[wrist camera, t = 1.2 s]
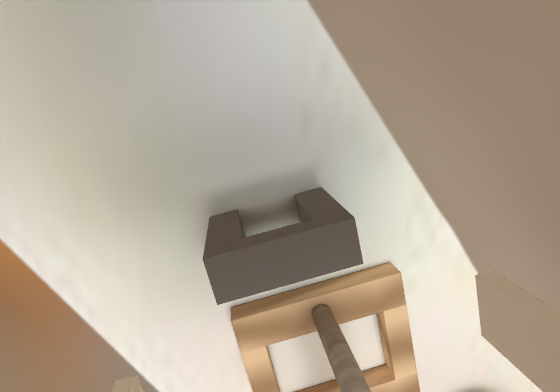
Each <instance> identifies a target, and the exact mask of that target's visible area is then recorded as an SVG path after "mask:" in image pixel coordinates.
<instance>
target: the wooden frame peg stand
mask: <svg viewBox="0 0 560 392" xmlns="http://www.w3.org/2000/svg"><path fill="white" fill-rule="evenodd" d="M376 313H377V318H378V323H379V329H380V334H381V339H382V345H383V350H384V355H385V361H386V364H385V365H382V366H379V367H375V368H372V369H369V370H366V371H362V372H361V370H360V368H359V366H358V364H357V362H356V360H355V358H354V356H353V354H352V352H351V350H350V348H349V346H348V344H347V341H346V339H345V337H344V335H343V333H342V331H341V329H340V327H339V325H338V324H342V323H345V322H349V321H352V320H355V319H359V318H362V317H366V316H369V315H372V314H376ZM231 323H232V326H233V329H234V332H235V335H236V339H237V342H238V345H239V348H240V351H241V355H242V358H243V361H244V364H245V367H246V371H247V374H248V377H249V380H250V383H251V387H252V390H253V392H280V388H279V385H278V381H277V378H276V374H275V371H274V367H273V364H272V361H271V357H270V354H269V350H268V347H267V345H270V344H274V343H277V342H280V341H284V340H287V339H291V338H294V337H297V336H301V335H304V334H308V333H311V332H315V331H318V333H319V336H320V339H321V341H322V344H323V346H324V349H325V351H326V354H327V357H328V359H329V362H330V364H331V367H332V369H333V372H334V375H335V377H336V380H333V381H329V382H326V383H323V384H319V385H316V386H313V387H310V388H306V389H303V390H300V391H296V392H420V388H419V382H418V376H417V369H416V363H415V357H414V351H413V344H412V338H411V332H410V326H409V320H408V313H407V307H406V301H405V295H404V288H403V282H402V276H401V272H400V271H399V270H398V269H397V268H396V267H395V266H394V265H393V264H392V263H391V262H390V263H386V264H383V265H379V266H375V267H372V268H368V269H365V270H361V271H358V272H354V273H351V274H347V275H344V276H340V277H337V278H333V279H330V280H326V281H323V282H319V283H316V284H312V285H309V286H305V287H302V288H298V289H294V290H291V291H287V292H284V293H280V294H277V295H273V296H270V297H266V298H263V299H259V300H256V301H252V302H249V303H245V304H242V305H238V306H235V307H231Z"/></svg>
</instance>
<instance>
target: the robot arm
mask: <svg viewBox="0 0 560 392" xmlns="http://www.w3.org/2000/svg"><path fill="white" fill-rule="evenodd" d="M475 277H476V286H477V296H478V306H479V315H480V325H481V335H482V336H483V337H484V338H485V339H486V340H487V341H488V342H489V343H490V344H491V345H493V346H494V347H495V348H496V349H497V350H498V351H499V352H500V353H501V354H502V355H503V356H505V357H506V358H507V359H508V360H509V361H510V362H511V363H512V364H513V365H514V366H515V367H517V368H518V369H519V370H520V371H521V372H522V373H523V374H524V375H525V376H526V377H527V378H529V379H530V380H531V381H532V382H533V383H534V384H535V385H536V386H537V387H538V388H539V389H541V390H542V391H543V392H560V311H558V310H557V309H555V308H554V307H552V306H550V305H549V304H547V303H546V302H544V301H542V300H541V299H539V298H538V297H536V296H534V295H533V294H531V293H530V292H528V291H526V290H525V289H523V288H522V287H520V286H518V285H517V284H515V283H514V282H512V281H511V280H509V279H507V278H505V277H504V276H503V275H501V274H499V273H498V272H496V271H495V270H492V271H489V272H485V273H482V274H478V275H475ZM111 392H144V391H143V389H142V386H141V384H140V382H139V379H138V377H137V375H134V376H131V377H127V378H124V379H120V380H117V381H116V382H115V383H114V386H113V388H112V391H111Z"/></svg>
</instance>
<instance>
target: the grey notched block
mask: <svg viewBox="0 0 560 392" xmlns="http://www.w3.org/2000/svg"><path fill="white" fill-rule="evenodd" d="M295 198H296V203H297V207H298V211H299V216H300V220H301V222H300V223H297V224H293V225H289V226H286V227H282V228H278V229H275V230H271V231H267V232H264V233H260V234H256V235H252V236H249V237H245V235H244V231H243V227H242V224H241V220H240V217H239V213H238V210H234V211H230V212H227V213H223V214H219V215H215V216H212V217H210V219H209V225H208V231H207V237H206V243H205V249H204V255H203V261H204V265H205V268H206V271H207V274H208V277H209V280H210V283H211V286H212V290H213V293H214V296H215V299H216V302H217V305H219V304H222V303H226V302H229V301H233V300H236V299H240V298H243V297H247V296H251V295H254V294H258V293H261V292H265V291H268V290H272V289H275V288H279V287H282V286H286V285H289V284H293V283H296V282H300V281H304V280H307V279H311V278H314V277H318V276H321V275H325V274H328V273H332V272H335V271H339V270H342V269H346V268H350V267H353V266H357V265H360V264H363V259H362V254H361V249H360V244H359V238H358V233H357V228H356V223H355V218H354V217H353V216H352V215H351V214H350V213H349V212H348V211H347V210H346V209H344V208H343V207H342V206H341V205H340V204H339V203H338V202H337V201H336V200H335V199H334V198H332V197H331V196H330V195H329V194H328V193H327V192H326V191H325V190H324V189H323V188H322V187H321V188H317V189H313V190H310V191H306V192H302V193H298V194H295Z"/></svg>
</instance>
